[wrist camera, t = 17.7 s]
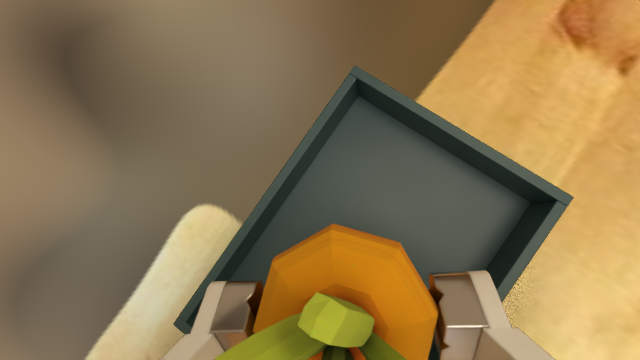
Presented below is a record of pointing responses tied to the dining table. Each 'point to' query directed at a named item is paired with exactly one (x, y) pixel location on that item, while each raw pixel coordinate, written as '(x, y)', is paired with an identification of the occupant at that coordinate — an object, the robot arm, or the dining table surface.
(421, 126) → the tray
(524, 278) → the dining table surface
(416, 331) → the carrot
